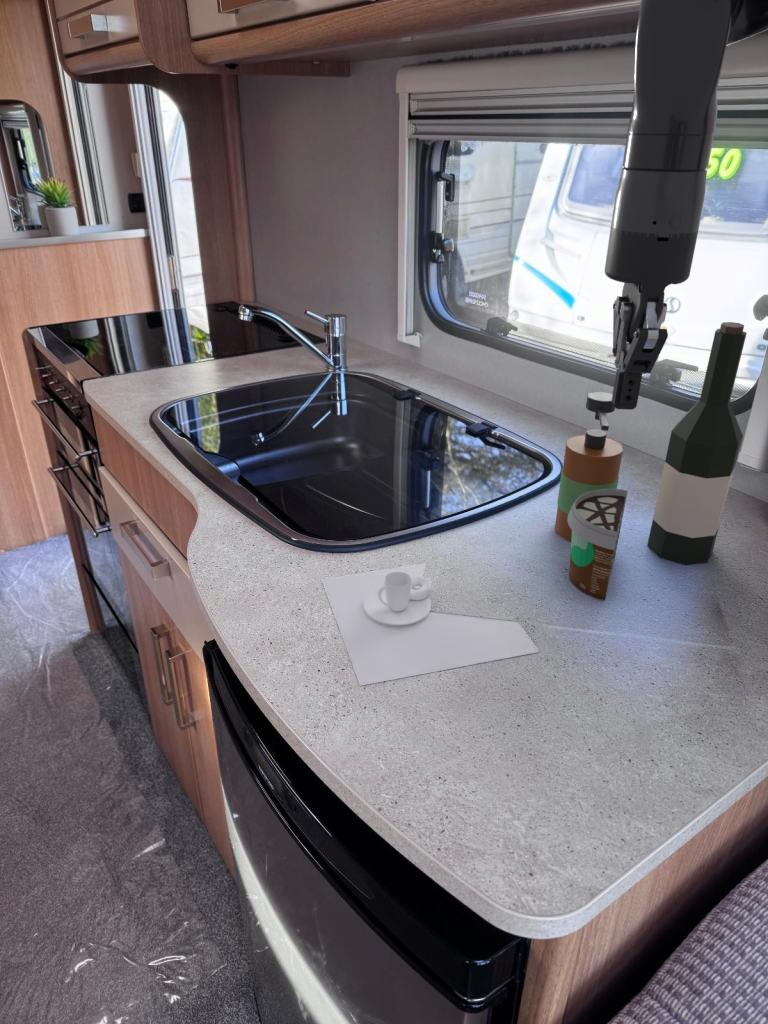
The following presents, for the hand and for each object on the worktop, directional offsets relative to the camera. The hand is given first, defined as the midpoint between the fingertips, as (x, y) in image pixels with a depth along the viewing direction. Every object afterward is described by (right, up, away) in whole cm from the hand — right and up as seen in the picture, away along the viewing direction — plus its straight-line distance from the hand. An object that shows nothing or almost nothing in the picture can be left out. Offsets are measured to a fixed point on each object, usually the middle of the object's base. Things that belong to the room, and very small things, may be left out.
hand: (623, 406), depth 73 cm
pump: (+3, 0, +17) cm, 17 cm away
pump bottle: (+3, -13, +27) cm, 31 cm away
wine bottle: (+15, -16, +24) cm, 32 cm away
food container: (+1, -19, +18) cm, 26 cm away
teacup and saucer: (-20, -23, +11) cm, 32 cm away
